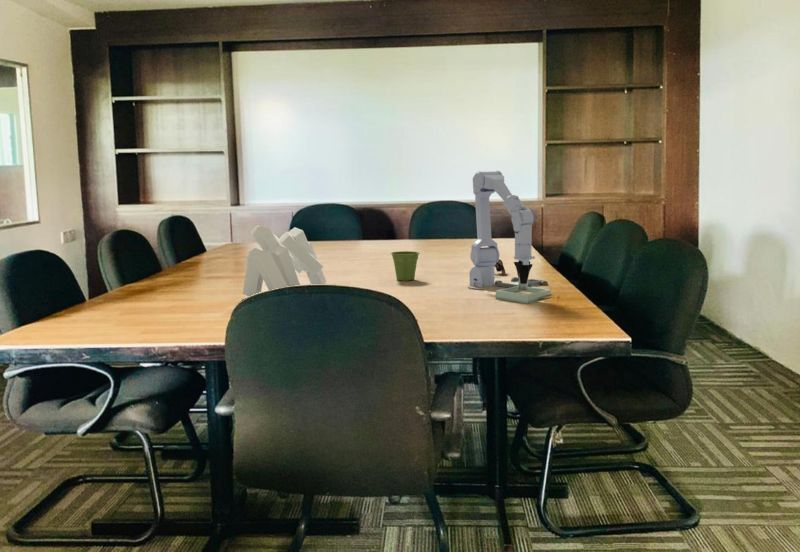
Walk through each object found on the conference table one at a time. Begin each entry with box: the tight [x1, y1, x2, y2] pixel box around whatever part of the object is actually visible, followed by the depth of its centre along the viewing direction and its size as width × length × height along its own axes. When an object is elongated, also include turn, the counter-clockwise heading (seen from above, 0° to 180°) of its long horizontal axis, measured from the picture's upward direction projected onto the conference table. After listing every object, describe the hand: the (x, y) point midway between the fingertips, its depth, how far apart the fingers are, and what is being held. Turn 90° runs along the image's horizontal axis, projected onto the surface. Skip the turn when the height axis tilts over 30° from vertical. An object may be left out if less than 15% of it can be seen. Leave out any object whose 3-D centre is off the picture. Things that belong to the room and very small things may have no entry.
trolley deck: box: [494, 276, 549, 288], centre depth 279 cm, size 15×15×3 cm
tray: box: [495, 286, 552, 305], centre depth 259 cm, size 14×14×3 cm
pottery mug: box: [494, 258, 507, 277], centre depth 316 cm, size 12×10×8 cm
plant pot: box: [390, 250, 420, 282], centre depth 305 cm, size 12×12×11 cm
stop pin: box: [519, 278, 528, 291], centre depth 260 cm, size 3×3×7 cm
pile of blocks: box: [242, 224, 327, 297], centre depth 271 cm, size 35×30×35 cm
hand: (522, 282), depth 260 cm, fingers closed on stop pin, 3 cm apart
